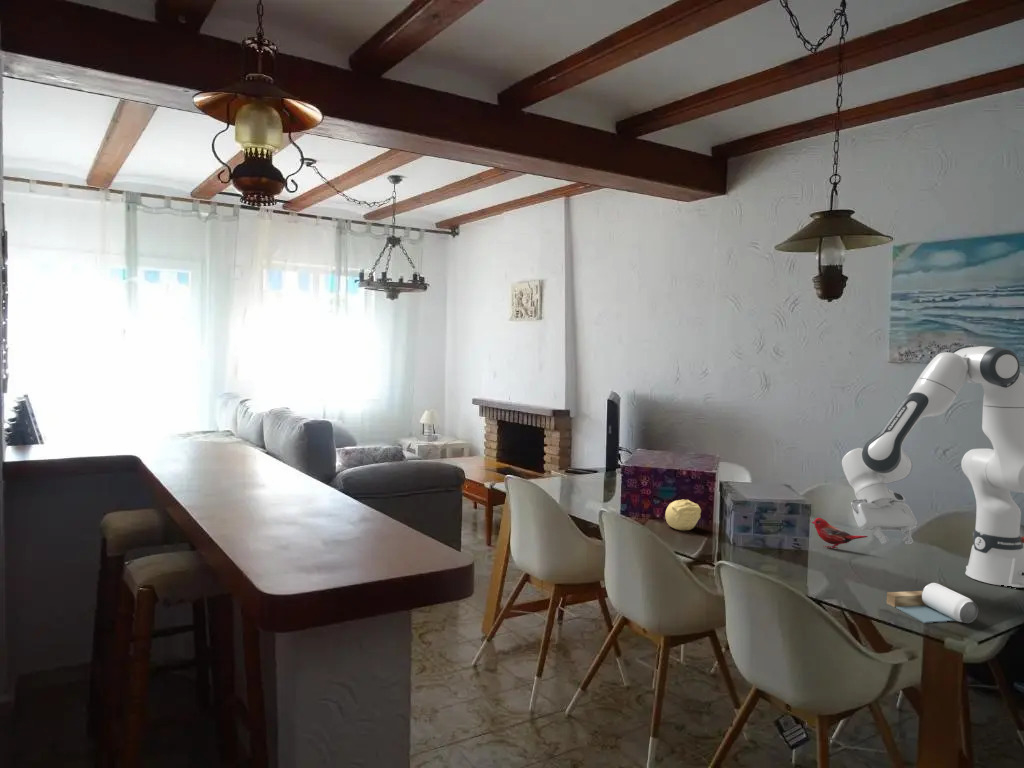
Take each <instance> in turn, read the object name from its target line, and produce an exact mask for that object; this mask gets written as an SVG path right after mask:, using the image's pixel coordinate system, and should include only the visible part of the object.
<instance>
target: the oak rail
mask: <svg viewBox="0 0 1024 768" xmlns="http://www.w3.org/2000/svg"><path fill="white" fill-rule="evenodd" d="M922 591H923V590H913V591H912V590H911V591H908V590H907V591H887V592H886V604H887V605H889V606H891V607H892V608H896V607H899V606H920V605H926V604H925V603H924V602H923V600H922Z"/></svg>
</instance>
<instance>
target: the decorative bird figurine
mask: <svg viewBox="0 0 1024 768" xmlns="http://www.w3.org/2000/svg"><path fill="white" fill-rule="evenodd" d="M811 524H813V525H814V528H815V530H816V533H817V535H818V536H819V538H820V539H821V540H823V541H824V542H825V543H827V544H830V545H824V546H825V548H827V547H832V548H831V549H833V548H837V549H838V547H837V546H839V545H843V544H847V543H848V544H849V543H850V542H851V541H854V540H857V539H863V538H868V536H867V535H851V534H850V533H848V532H847V531H844V530H843V529H841V528H837V527H835V526H833V525H831V524H829V522H828V521H827V520H825V519H823V518H821V517H817V518H815V519H814V520H813V521H812V522H811Z"/></svg>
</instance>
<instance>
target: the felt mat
mask: <svg viewBox="0 0 1024 768" xmlns="http://www.w3.org/2000/svg"><path fill="white" fill-rule="evenodd" d="M895 609H897V610H898V609H899V610H898V611H900V610H901V612H902V613H904V614H907V615H908V616H910V617H912V618H914V619H915V620H917V621H920V622H921V623H923V624H933V622H938V623H948V622H947V621H956V622H958V621H957V620H955V619H953V618H951V617H949V616H947V615H945V614H943V613H941V612H939V611H937V610H935V609H933V608H931V607H929V606H927V605H920V606H899V607H895Z"/></svg>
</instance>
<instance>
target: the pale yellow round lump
mask: <svg viewBox="0 0 1024 768" xmlns="http://www.w3.org/2000/svg"><path fill="white" fill-rule="evenodd" d="M701 513H702V509H701V507H700V506H699V504H698V503H695V502H693V501H691V500H689V499H678V500H674V501H672V502H670V503H669V504H668V506H667V507H666V510H665V514H664V517H665V520H666V523H667V524H668V526H669V527H671V528H673V529H675V530H678V531H691V530H692V529H694V528H695V527H696V525H697V523H698V522H699V520H700V519H701V517H702V516H701Z"/></svg>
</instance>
